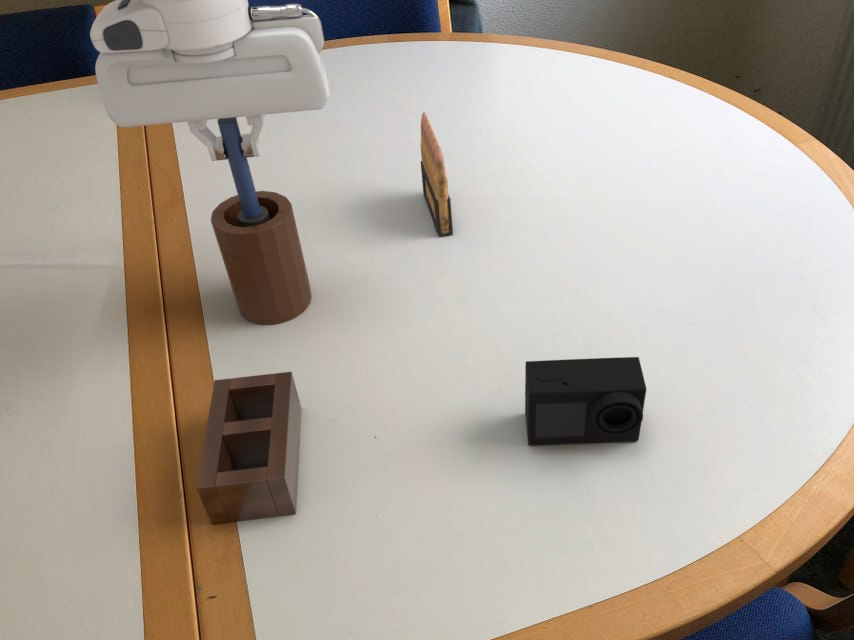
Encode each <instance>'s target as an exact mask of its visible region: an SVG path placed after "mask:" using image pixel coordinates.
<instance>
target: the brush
mask: <svg viewBox="0 0 854 640" xmlns="http://www.w3.org/2000/svg"><path fill="white" fill-rule="evenodd" d="M216 121H217V122H216V123H217V126H218V129H219V132H220V137H221V136H222V140H223V143H224V147H225V150H226V154H227V157H228V159H227V161H228V165H229V168H230V172H231V175H232V178H233V183H234V186H235V189H236V190H235V191H236V193H237V195H238V197H239V200H240V204H241V207H242V210H240V211H239V212H238V214H237V219H238V222H239V226H240V227H250V226H257V225H260V224H263V223H266V222H268V221H269V220H270V217H269V213H268V210H267V209H266V208H265V207H263V206H259V202H258V198H257V194H256V188H255V183H254V180H253V176H252V173H251V168H250V164H249V161H248V158H245V157H244V154H243V152H244V150H243V149H242V146H241V140H242V134H241V130H240V125H239V122H238V117H233V118H222V119H217V120H216Z"/></svg>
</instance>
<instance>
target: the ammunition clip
mask: <svg viewBox="0 0 854 640" xmlns="http://www.w3.org/2000/svg"><path fill="white" fill-rule="evenodd" d="M420 155H421V156H420V157H421V160H420V171H421V179H422V180H421V183H422V193H423V197H424V200H425V203H426V205H427V209H428V211H429V214H430V217H431V220H432V223H433V225H434V228H435V232H436V234H437V237H438V238H441V237H447V236H453V235H454V229H453V217H452V202H451V198H450V197H451V196H450V195H449V185H448V176H447V173H446V166H445V159H444V154H443V151H442V148H441V146H440V144H439V141H438V139H437V137H436V134H435V132H434V128H433V127H432V125H431V122H430V120H429V118H428V115H427V113H426V112H425V111H422V114H421V118H420Z"/></svg>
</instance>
